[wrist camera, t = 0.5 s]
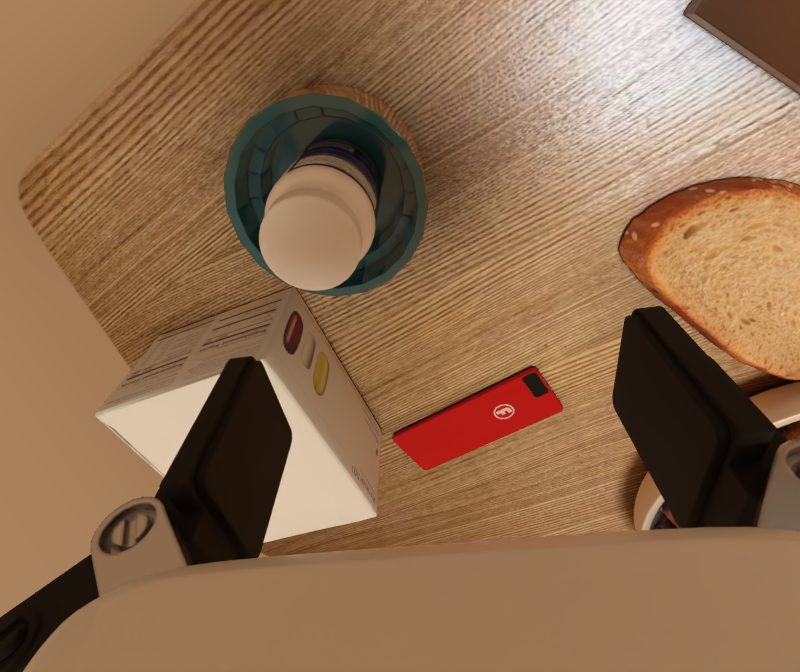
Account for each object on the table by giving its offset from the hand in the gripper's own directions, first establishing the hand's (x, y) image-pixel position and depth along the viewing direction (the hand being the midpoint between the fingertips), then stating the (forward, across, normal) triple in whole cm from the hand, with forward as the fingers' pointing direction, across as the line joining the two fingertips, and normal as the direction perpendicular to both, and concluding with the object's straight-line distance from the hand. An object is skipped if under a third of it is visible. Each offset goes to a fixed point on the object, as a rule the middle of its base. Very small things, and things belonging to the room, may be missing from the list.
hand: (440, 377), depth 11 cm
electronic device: (+20, -2, +23) cm, 31 cm away
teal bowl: (+20, +6, 0) cm, 21 cm away
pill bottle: (+20, +6, 0) cm, 21 cm away
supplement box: (+20, +15, +16) cm, 30 cm away
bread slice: (+20, -23, +12) cm, 33 cm away
